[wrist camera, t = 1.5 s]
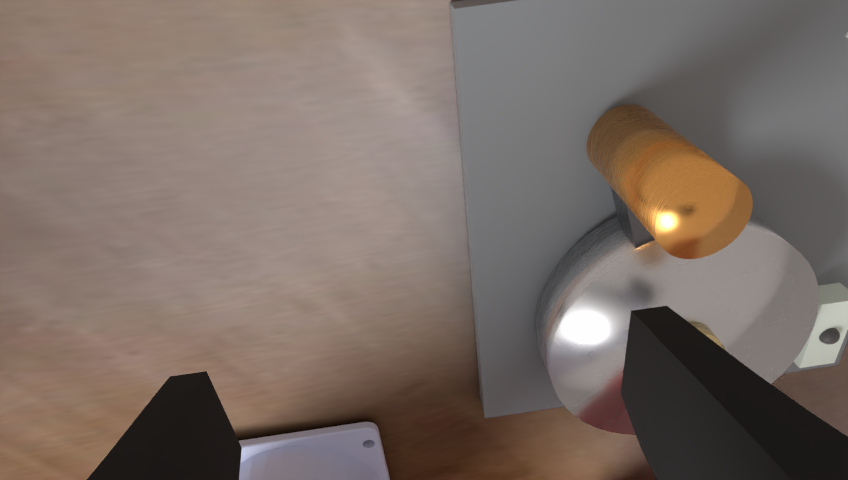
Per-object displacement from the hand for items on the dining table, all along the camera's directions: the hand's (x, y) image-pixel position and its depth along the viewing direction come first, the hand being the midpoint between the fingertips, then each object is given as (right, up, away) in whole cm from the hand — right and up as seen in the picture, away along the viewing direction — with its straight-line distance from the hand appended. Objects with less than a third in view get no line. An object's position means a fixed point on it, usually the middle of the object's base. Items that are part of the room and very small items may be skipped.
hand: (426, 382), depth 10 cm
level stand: (+9, +3, +10) cm, 14 cm away
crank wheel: (+8, +1, +10) cm, 12 cm away
